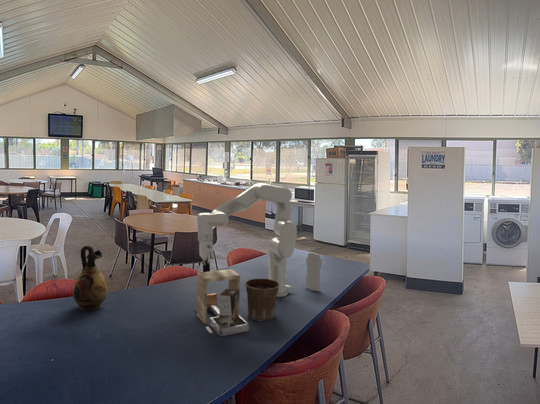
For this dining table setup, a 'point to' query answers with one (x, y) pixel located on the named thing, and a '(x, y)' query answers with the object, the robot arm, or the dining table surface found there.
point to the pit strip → (207, 308)
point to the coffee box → (228, 308)
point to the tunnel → (211, 277)
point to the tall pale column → (313, 271)
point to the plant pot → (261, 298)
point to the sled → (215, 320)
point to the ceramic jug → (90, 282)
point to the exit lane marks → (209, 329)
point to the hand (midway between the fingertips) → (206, 272)
